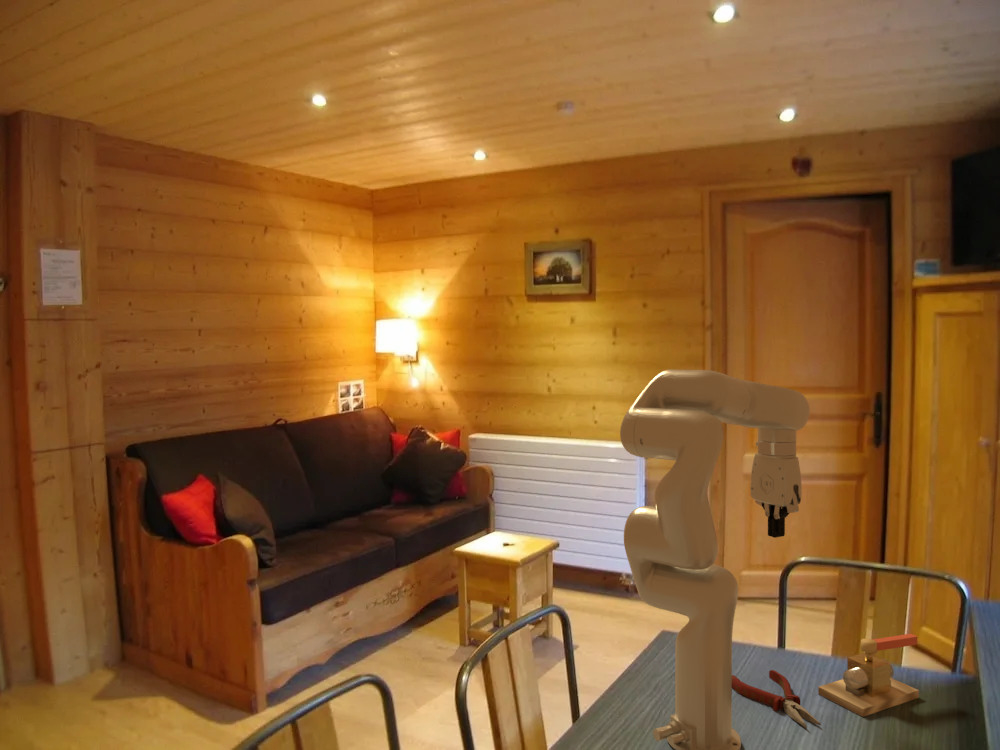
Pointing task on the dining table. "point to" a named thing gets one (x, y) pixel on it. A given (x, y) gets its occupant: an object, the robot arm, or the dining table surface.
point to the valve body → (867, 675)
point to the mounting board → (868, 697)
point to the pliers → (776, 698)
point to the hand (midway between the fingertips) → (776, 535)
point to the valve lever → (887, 643)
